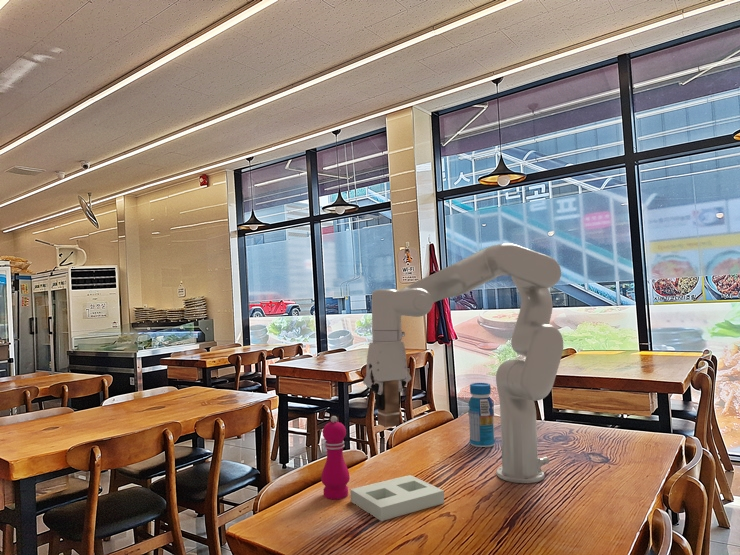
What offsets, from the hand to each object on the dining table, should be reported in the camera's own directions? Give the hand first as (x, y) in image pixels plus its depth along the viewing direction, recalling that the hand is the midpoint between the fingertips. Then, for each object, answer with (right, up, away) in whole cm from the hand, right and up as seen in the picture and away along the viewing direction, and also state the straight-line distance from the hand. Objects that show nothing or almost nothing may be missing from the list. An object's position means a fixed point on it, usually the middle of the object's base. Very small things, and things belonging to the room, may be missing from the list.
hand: (388, 407), depth 138 cm
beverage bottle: (+33, -22, +40) cm, 57 cm away
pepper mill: (-13, -22, -1) cm, 26 cm away
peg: (0, -4, 0) cm, 4 cm away
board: (+2, -21, -7) cm, 23 cm away
